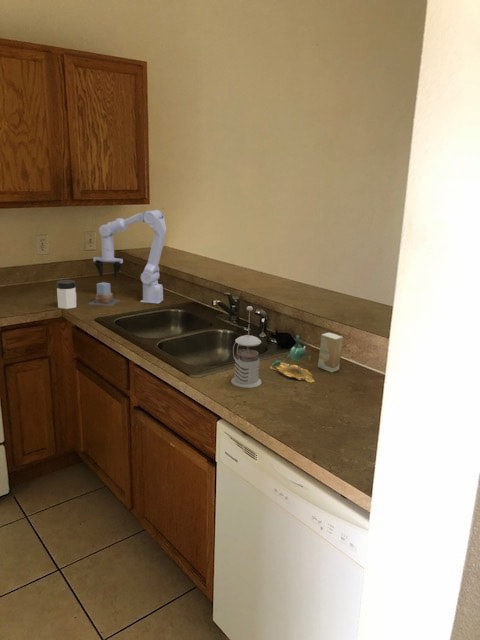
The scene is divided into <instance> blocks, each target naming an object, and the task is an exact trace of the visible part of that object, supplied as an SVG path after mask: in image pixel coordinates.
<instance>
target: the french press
mask: <svg viewBox="0 0 480 640" xmlns="http://www.w3.org/2000/svg"><path fill="white" fill-rule="evenodd" d="M253 309H254V308H253V306H250V305H249V306H246V311H248V312H249V313H248V322H250V321H251V320H250V319H251V318H250V316H251V315H250V314H251V311H253ZM247 331H248V333H247V334H246V335H241V336H239V337H237V338H236V339H235V340H234V341H235V342H234V344H233V347H232V354H233V358H234V376H233V377H232V378H231V381H230V383H231V384H232V385H233V386H236V387H239V388H247V389H248V388H250V389H251V388H257V387H259V386H260V385H261V384H262V380H261V379H260V378H259V377H260V376H259V375H260V374H259V373H260V362H261V361H260V360H261V359H260V356H259V355H260V353H259V351H257V350H254V349H249V347H256V346H259V345H260V344H261V343H262V341H261V339H260V338H259V337H257V336H254V335H250V325H248V330H247ZM236 344H237V346H236V347H237V348H236V355H235V353H234V352H235V351H234V350H235V345H236ZM241 346H244V347H247V348H245V349H239V347H241Z"/></svg>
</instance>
